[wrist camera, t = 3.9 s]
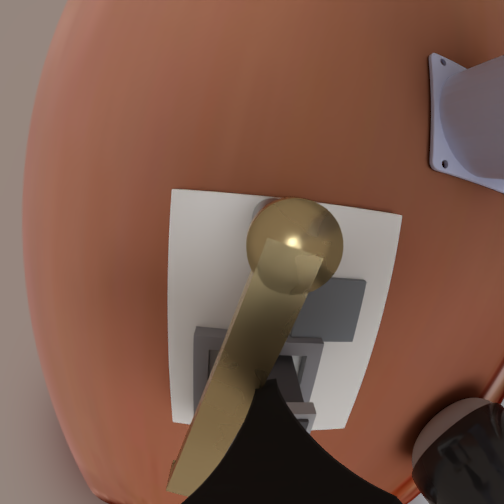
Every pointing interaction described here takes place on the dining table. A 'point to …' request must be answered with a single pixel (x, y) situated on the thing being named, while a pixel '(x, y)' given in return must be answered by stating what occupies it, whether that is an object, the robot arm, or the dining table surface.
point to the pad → (331, 311)
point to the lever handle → (258, 326)
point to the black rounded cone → (462, 454)
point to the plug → (292, 391)
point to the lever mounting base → (232, 285)
